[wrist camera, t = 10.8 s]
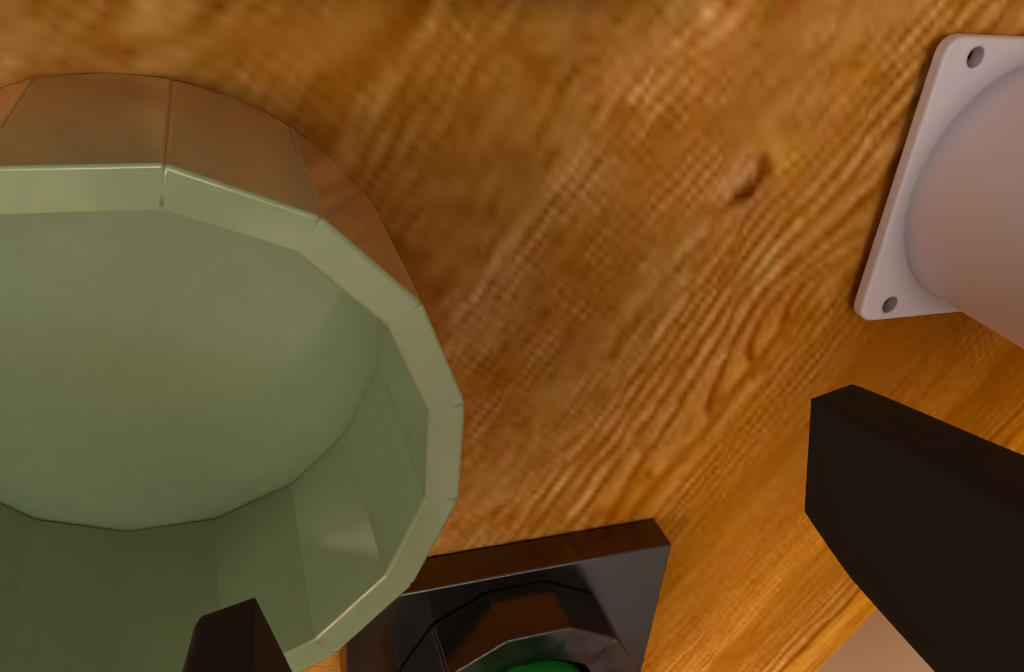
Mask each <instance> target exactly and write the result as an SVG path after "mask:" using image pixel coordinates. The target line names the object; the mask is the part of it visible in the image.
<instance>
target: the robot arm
mask: <svg viewBox="0 0 1024 672" xmlns="http://www.w3.org/2000/svg"><path fill="white" fill-rule="evenodd" d="M971 50H972V55H971V56H970V58H969V60H968V61H967V57H968V55H969V53H970V51H971ZM886 300H887V301H886ZM885 301H886V302H885ZM884 302H885V303H884ZM854 311H855V313H857V314H858V315H859V316H861V317H862V318H863V319H865V320H879V319H889V318H899V317H909V316H920V315H930V314H940V313H950V312H963V313H965V314H966V315H968V316H969V317H971V318H973V319H974V320H976V321H978V322H979V323H981V324H983V325H984V326H986V327H987V328H989V329H991V330H992V331H994V332H996V333H997V334H999V335H1001V336H1002V337H1004V338H1005V339H1007V340H1009V341H1010V342H1012V343H1014V344H1015V345H1017V346H1018V347H1020V348H1022V349H1023V350H1024V36H1015V35H989V34H964V33H955V34H951V35H949V36H947V37H946V38H944V39H943V40H942V41H941V43H940V44H939V45H938V46H937V48H936V51H935V53H934V56H933V59H932V62H931V65H930V68H929V71H928V74H927V77H926V80H925V84H924V87H923V90H922V93H921V96H920V99H919V102H918V105H917V108H916V112H915V115H914V118H913V121H912V124H911V127H910V130H909V133H908V136H907V140H906V143H905V146H904V149H903V152H902V155H901V158H900V161H899V164H898V168H897V171H896V174H895V177H894V180H893V183H892V186H891V189H890V192H889V196H888V199H887V202H886V205H885V208H884V211H883V214H882V217H881V220H880V224H879V227H878V230H877V233H876V236H875V239H874V242H873V245H872V248H871V252H870V255H869V258H868V261H867V264H866V267H865V270H864V273H863V276H862V280H861V283H860V286H859V289H858V292H857V295H856V298H855V301H854ZM805 513H806V514H807V516H808V517H809V519H810V520H811V522H812V523H813V525H814V526H815V528H816V529H817V531H818V532H819V533H820V535H821V536H822V538H823V539H824V541H825V542H826V544H827V545H828V547H829V548H830V550H831V551H832V552H833V554H834V555H835V557H836V558H837V559H838V561H839V562H840V564H841V565H842V566H843V568H844V569H845V571H846V572H847V573H848V575H849V576H850V577H851V579H852V580H853V581H854V582H855V583H856V584H857V585H858V587H859V588H860V589H861V590H862V591H863V592H864V594H865V595H866V596H867V597H868V598H869V599H870V600H871V601H872V603H873V604H874V605H875V606H876V607H877V608H878V609H879V610H880V612H881V613H882V614H883V615H884V616H885V617H886V618H887V619H888V621H889V622H890V623H891V624H892V625H893V626H894V627H895V628H896V630H897V631H898V632H899V633H900V634H901V635H902V636H903V637H904V638H905V639H906V641H907V642H908V643H909V644H910V645H911V646H912V647H913V648H914V649H915V651H916V652H917V653H918V654H919V655H920V656H921V657H922V658H923V659H924V661H925V662H926V663H927V664H928V665H929V666H930V667H931V668H932V669H933V670H934V672H1024V455H1021V454H1019V453H1016V452H1014V451H1011V450H1009V449H1007V448H1004V447H1002V446H999V445H997V444H995V443H992V442H990V441H987V440H985V439H983V438H980V437H978V436H976V435H973V434H971V433H968V432H966V431H964V430H961V429H959V428H957V427H954V426H952V425H950V424H947V423H945V422H943V421H940V420H938V419H936V418H933V417H931V416H929V415H926V414H924V413H922V412H919V411H917V410H915V409H912V408H910V407H908V406H905V405H903V404H901V403H898V402H896V401H893V400H891V399H889V398H886V397H884V396H881V395H879V394H876V393H874V392H872V391H869V390H866V389H864V388H861V387H859V386H856V385H853V384H851V385H849V386H846V387H843V388H840V389H837V390H835V391H832V392H829V393H826V394H823V395H821V396H818V397H815V398H812V399H811V414H810V431H809V447H808V464H807V481H806V498H805ZM182 672H292V670H291V668H290V666H289V664H288V662H287V660H286V658H285V656H284V654H283V652H282V650H281V648H280V646H279V644H278V642H277V640H276V638H275V636H274V634H273V632H272V630H271V628H270V626H269V624H268V622H267V620H266V618H265V616H264V614H263V612H262V610H261V608H260V606H259V604H258V602H257V600H256V598H255V597H254V598H251V599H248V600H246V601H243V602H240V603H237V604H234V605H232V606H229V607H226V608H223V609H220V610H218V611H215V612H212V613H209V614H206V615H204V616H201V617H200V619H199V620H198V622H197V623H196V625H195V627H194V630H193V634H192V638H191V642H190V645H189V649H188V653H187V656H186V660H185V663H184V667H183V670H182Z"/></svg>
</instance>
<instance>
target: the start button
mask: <svg viewBox="0 0 1024 672" xmlns="http://www.w3.org/2000/svg"><path fill="white" fill-rule="evenodd" d="M507 672H580V671H579V670H578V669H577V668H576V667H575V666H573V665H572V664H570V663H567V662H564V661H561V660H555V659H550V660H546V661H541V662H537V663H533V664H528V665H524V666H519V667H515V668H512V669H510V670H509V671H507Z"/></svg>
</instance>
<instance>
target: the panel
mask: <svg viewBox="0 0 1024 672" xmlns="http://www.w3.org/2000/svg"><path fill="white" fill-rule="evenodd" d="M670 547H671V544H670V542H669V541H668V539H667V538H666V536H665V535H664V533H663V532H662V530H661V529H660V527H659V526H658V524H657V523H656V521H655V520H648V521H642V522H636V523H631V524H625V525H619V526H613V527H608V528H602V529H596V530H590V531H584V532H579V533H573V534H567V535H561V536H556V537H550V538H544V539H538V540H533V541H527V542H521V543H515V544H510V545H504V546H498V547H492V548H486V549H481V550H475V551H469V552H463V553H458V554H452V555H446V556H440V557H435V558H429V559H426V560H425V562H424V563H423V565H422V567H421V569H420V571H419V573H418V574H417V576H416V578H415V580H414V582H413V583H411V584H410V587H409V588H408V589H407V590H405V591H404V592H403V593H402V594H401V595H400V596H399V597H398V598H397V599H395V600H394V601H393V602H392V603H391V604H390V605H389V606H388V607H386V608H385V609H384V610H383V611H382V612H381V613H380V614H379V615H377V616H376V617H375V618H374V619H373V620H372V621H371V622H370V623H369V624H367V625H366V626H365V627H364V628H363V629H362V630H361V631H360V632H358V633H357V634H356V635H355V636H354V637H353V638H352V639H351V640H350V641H348V642H347V643H346V644H345V645H344V646H343V647H342V648H341V649H340V656H341V672H507V671H509V670H510V669H512V668H515V667H519V666H524V665H528V664H533V663H537V662H541V661H546V660H550V659H555V660H561V661H564V662H567V663H570V664H572V665H573V666H575V667H576V668H577V669H578V670H579V671H580V672H641V668H642V664H643V660H644V656H645V652H646V647H647V643H648V639H649V635H650V631H651V626H652V622H653V618H654V614H655V610H656V605H657V601H658V597H659V593H660V589H661V584H662V580H663V576H664V572H665V568H666V564H667V559H668V555H669V551H670Z"/></svg>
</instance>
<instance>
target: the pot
mask: <svg viewBox="0 0 1024 672" xmlns="http://www.w3.org/2000/svg"><path fill="white" fill-rule="evenodd" d="M464 413H465V403H464V396H463V394H462V392H461V390H460V387H459V385H458V383H457V380H456V378H455V376H454V373H453V371H452V369H451V367H450V364H449V362H448V360H447V357H446V355H445V353H444V351H443V348H442V346H441V344H440V341H439V339H438V337H437V334H436V332H435V330H434V328H433V325H432V323H431V321H430V318H429V316H428V314H427V311H426V309H425V307H424V305H423V303H422V301H421V299H420V297H419V295H418V293H417V291H416V289H415V287H414V285H413V283H412V281H411V279H410V277H409V275H408V273H407V271H406V269H405V267H404V265H403V263H402V261H401V259H400V257H399V255H398V253H397V251H396V249H395V247H394V245H393V243H392V241H391V239H390V237H389V235H388V233H387V231H386V229H385V227H384V225H383V222H382V220H381V218H380V216H379V214H378V212H377V210H376V208H375V206H374V204H373V202H372V201H371V200H370V199H369V197H368V196H367V195H366V194H365V193H364V192H363V191H361V190H360V189H359V188H358V187H357V186H356V185H355V184H354V182H353V181H352V180H351V179H350V178H349V177H348V176H347V175H346V174H345V173H344V172H343V171H342V170H341V169H340V168H339V167H338V166H337V164H336V163H335V162H334V161H333V160H332V159H331V158H330V157H329V156H327V155H326V154H325V153H324V152H323V151H321V150H320V149H319V148H318V147H316V146H315V145H314V144H313V143H311V142H310V141H309V140H308V139H306V138H305V137H304V136H303V135H302V134H300V133H298V132H297V131H296V130H295V129H294V128H292V127H289V126H288V125H287V124H286V123H283V122H281V121H279V120H277V119H276V118H274V117H273V116H271V115H269V114H267V113H265V112H263V111H261V110H259V109H257V108H254V107H252V106H250V105H248V104H246V103H244V102H241V101H239V100H237V99H235V98H233V97H230V96H227V95H224V94H221V93H218V92H214V91H211V90H208V89H205V88H202V87H199V86H196V85H193V84H188V83H183V82H178V81H172V80H170V79H162V78H157V77H152V76H142V75H128V74H115V73H94V74H73V75H59V76H54V77H38V78H35V79H28V80H26V81H23V82H19V83H16V84H13V85H9V86H6V87H3V88H0V672H182V670H183V667H184V663H185V660H186V656H187V653H188V649H189V645H190V642H191V638H192V634H193V630H194V627H195V625H196V623H197V622H198V620H199V619H200V617H201V616H204V615H206V614H209V613H212V612H215V611H218V610H220V609H223V608H226V607H229V606H232V605H234V604H237V603H240V602H243V601H246V600H248V599H251V598H254V597H255V598H256V600H257V602H258V604H259V606H260V608H261V610H262V612H263V614H264V616H265V618H266V620H267V622H268V624H269V626H270V628H271V630H272V632H273V634H274V636H275V638H276V640H277V642H278V644H279V646H280V648H281V650H282V652H283V654H284V656H285V658H286V660H287V662H288V664H289V666H290V668H291V670H292V672H300V671H302V670H304V669H306V668H308V667H310V666H312V665H314V664H316V663H318V662H320V661H323V660H325V659H327V658H329V657H331V656H332V655H333V653H335V652H337V651H338V650H339V649H341V648H342V647H343V646H344V645H345V644H346V643H347V642H348V641H350V640H351V639H352V638H353V637H354V636H355V635H356V634H357V633H358V632H360V631H361V630H362V629H363V628H364V627H365V626H366V625H367V624H369V623H370V622H371V621H372V620H373V619H374V618H375V617H376V616H377V615H379V614H380V613H381V612H382V611H383V610H384V609H385V608H386V607H388V606H389V605H390V604H391V603H392V602H393V601H394V600H395V599H397V598H398V597H399V596H400V595H401V594H402V593H403V592H404V591H405V590H407V589H408V588H409V587H410V584H411V583H413V582H414V580H415V578H416V576H417V574H418V573H419V571H420V569H421V567H422V565H423V563H424V562H425V560H426V558H427V556H428V554H429V552H430V551H431V549H432V547H433V545H434V543H435V541H436V539H437V538H438V536H439V534H440V532H441V530H442V528H443V527H444V525H445V523H446V521H447V519H448V517H449V516H450V514H451V512H452V510H453V508H454V506H455V504H456V503H457V498H458V496H459V487H460V472H461V457H462V443H463V428H464Z"/></svg>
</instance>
